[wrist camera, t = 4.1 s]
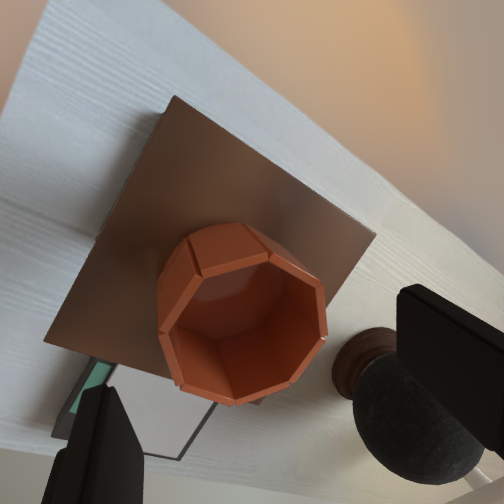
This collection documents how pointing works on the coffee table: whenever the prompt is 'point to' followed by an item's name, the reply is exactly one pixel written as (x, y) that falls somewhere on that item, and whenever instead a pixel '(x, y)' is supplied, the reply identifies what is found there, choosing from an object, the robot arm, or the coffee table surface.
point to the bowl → (237, 314)
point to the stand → (187, 222)
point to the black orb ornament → (401, 414)
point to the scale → (143, 408)
